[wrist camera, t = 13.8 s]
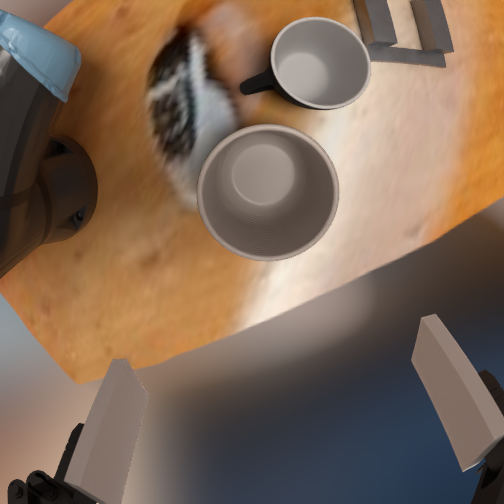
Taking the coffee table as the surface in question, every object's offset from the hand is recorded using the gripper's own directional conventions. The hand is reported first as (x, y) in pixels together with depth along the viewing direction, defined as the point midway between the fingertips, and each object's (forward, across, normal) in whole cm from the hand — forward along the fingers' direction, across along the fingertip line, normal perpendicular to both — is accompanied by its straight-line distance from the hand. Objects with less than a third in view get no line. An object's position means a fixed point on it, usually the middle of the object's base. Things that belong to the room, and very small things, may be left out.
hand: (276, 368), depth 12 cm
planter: (+27, +1, +3) cm, 27 cm away
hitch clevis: (+27, +22, +22) cm, 41 cm away
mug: (+27, +6, +14) cm, 31 cm away
